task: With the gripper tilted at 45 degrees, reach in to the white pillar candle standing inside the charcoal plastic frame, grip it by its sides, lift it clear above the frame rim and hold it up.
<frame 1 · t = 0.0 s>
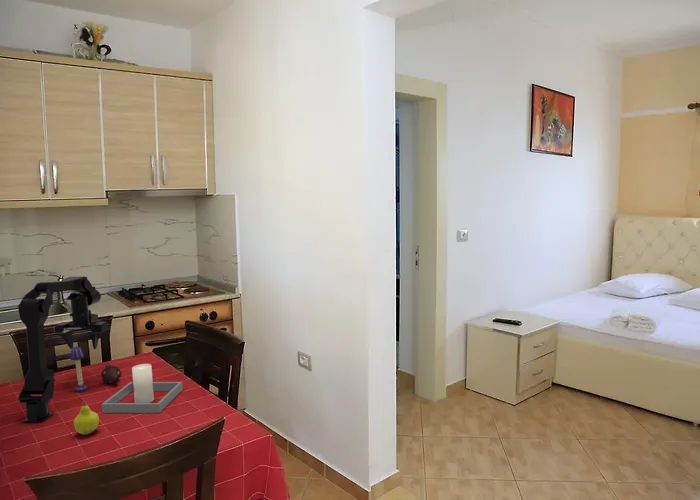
hand: (83, 349, 199), 15 cm above the table, tool pointing down, fingers open, 9 cm apart
frame: (144, 400, 185), on the table
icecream: (111, 382, 204), on the table
toy lamp: (80, 390, 197), on the table
fruit: (87, 433, 162), on the table
white pillar candle: (143, 383, 185), in the frame
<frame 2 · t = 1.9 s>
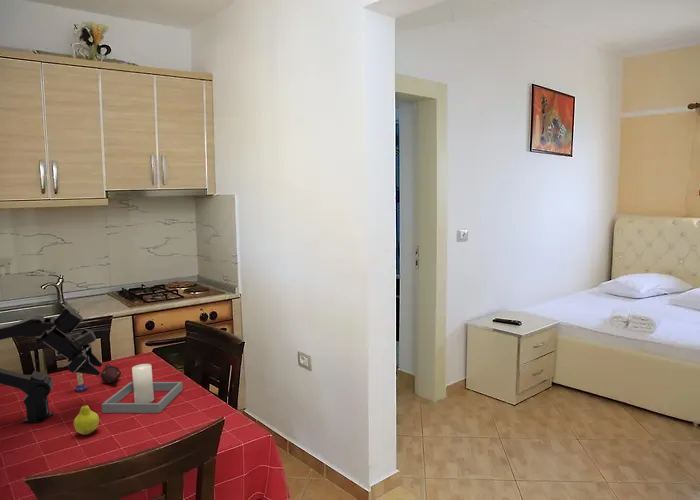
hand: (100, 369, 179), 14 cm above the table, tool tilted 45°, fingers open, 9 cm apart
nothing on the table moved.
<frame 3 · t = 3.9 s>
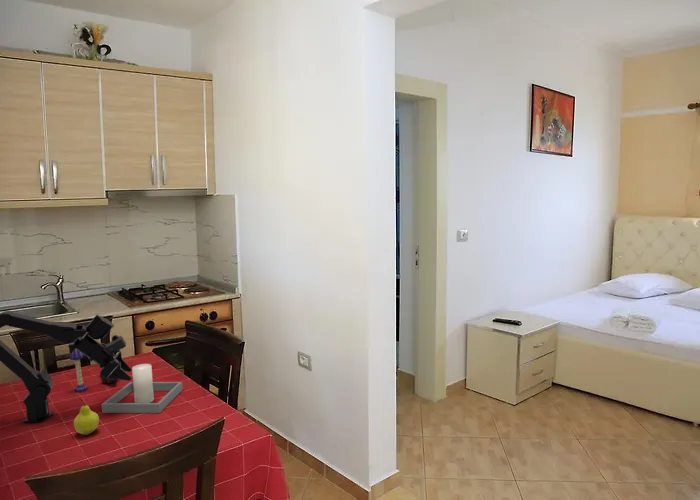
hand: (130, 375, 183), 10 cm above the table, tool tilted 45°, fingers open, 9 cm apart
nothing on the table moved.
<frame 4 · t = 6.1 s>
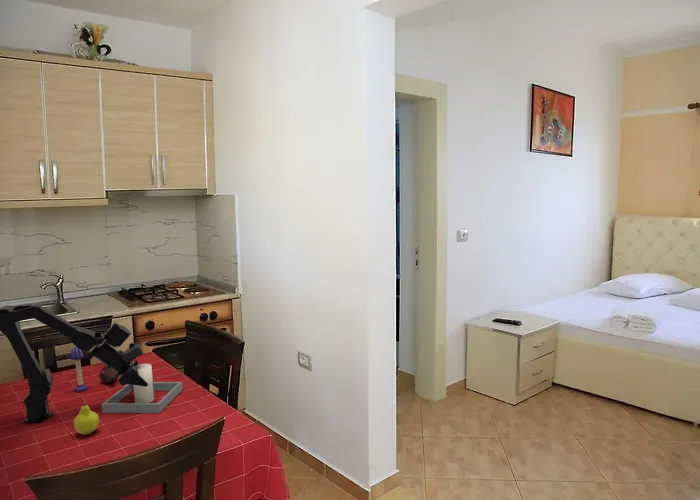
hand: (147, 382, 185), 7 cm above the table, tool tilted 45°, fingers closed on white pillar candle, 6 cm apart
white pillar candle: (143, 383, 185), in the frame, touching gripper
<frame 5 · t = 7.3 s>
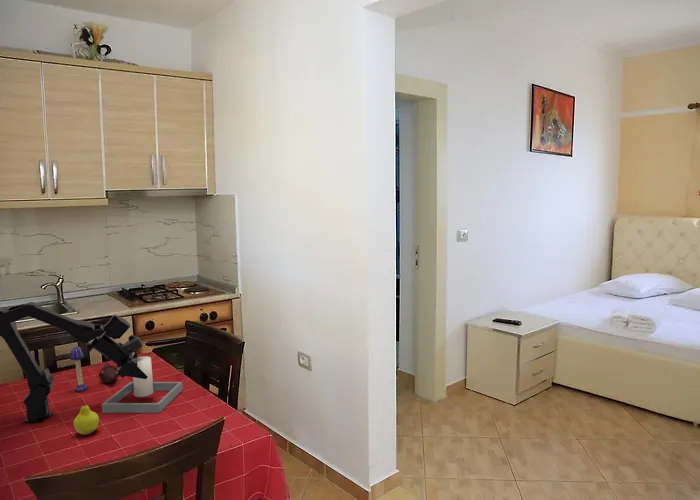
hand: (146, 374, 185), 9 cm above the table, tool tilted 45°, fingers closed on white pillar candle, 6 cm apart
white pillar candle: (142, 376, 184), point 9 cm above the table, touching gripper
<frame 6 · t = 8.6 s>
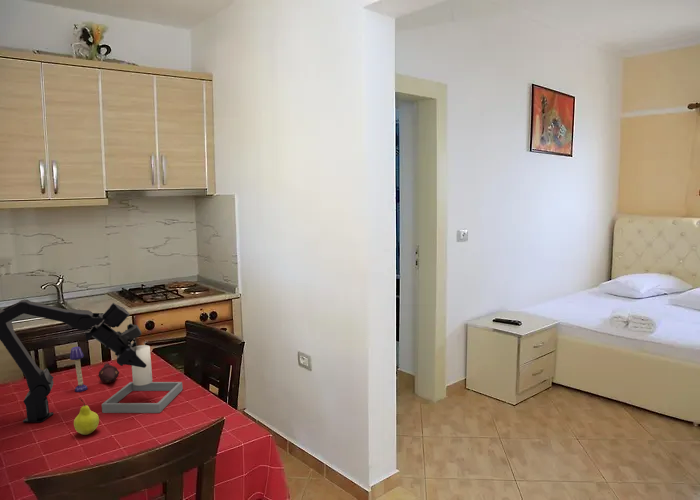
hand: (145, 363, 184), 13 cm above the table, tool tilted 45°, fingers closed on white pillar candle, 6 cm apart
white pillar candle: (141, 365, 184), point 13 cm above the table, touching gripper
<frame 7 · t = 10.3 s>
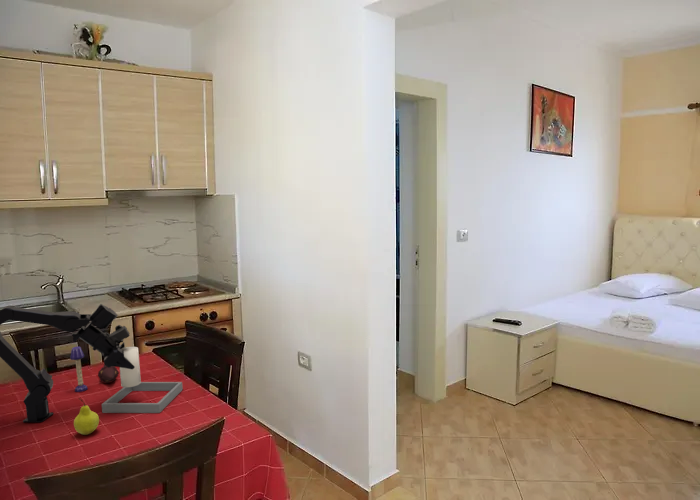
hand: (133, 365, 183), 13 cm above the table, tool tilted 45°, fingers closed on white pillar candle, 6 cm apart
white pillar candle: (129, 366, 182), point 13 cm above the table, touching gripper
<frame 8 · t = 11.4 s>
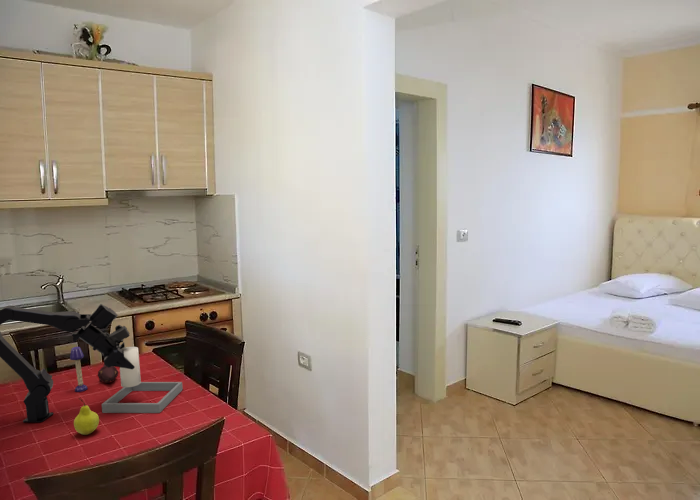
hand: (133, 365, 183), 13 cm above the table, tool tilted 45°, fingers closed on white pillar candle, 6 cm apart
white pillar candle: (129, 366, 182), point 13 cm above the table, touching gripper
at the end: the gripper is holding white pillar candle; white pillar candle point 13.2 cm above the table; white pillar candle inside the target area on the frame (3.9 cm from its centre), point 13.2 cm above the frame's base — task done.
